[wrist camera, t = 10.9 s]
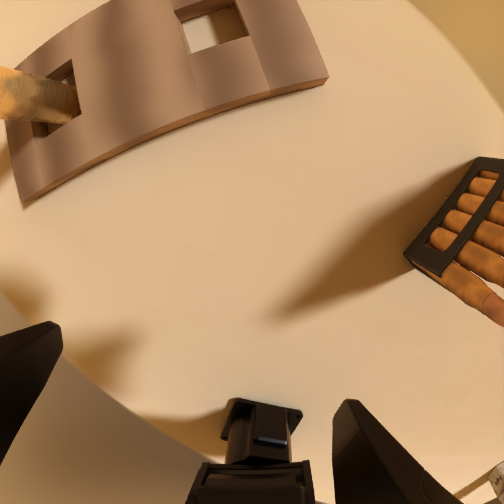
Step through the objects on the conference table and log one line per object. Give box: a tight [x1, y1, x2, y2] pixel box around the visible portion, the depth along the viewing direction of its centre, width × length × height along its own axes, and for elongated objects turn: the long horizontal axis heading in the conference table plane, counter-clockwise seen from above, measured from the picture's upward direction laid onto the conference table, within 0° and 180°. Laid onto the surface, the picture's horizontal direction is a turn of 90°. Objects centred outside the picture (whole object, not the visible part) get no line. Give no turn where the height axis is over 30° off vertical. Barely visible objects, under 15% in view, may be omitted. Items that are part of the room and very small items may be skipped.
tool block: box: [5, 0, 329, 202], centre depth 16 cm, size 24×12×2 cm, turn 107°
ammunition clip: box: [403, 157, 504, 327], centre depth 13 cm, size 11×2×12 cm, turn 140°
